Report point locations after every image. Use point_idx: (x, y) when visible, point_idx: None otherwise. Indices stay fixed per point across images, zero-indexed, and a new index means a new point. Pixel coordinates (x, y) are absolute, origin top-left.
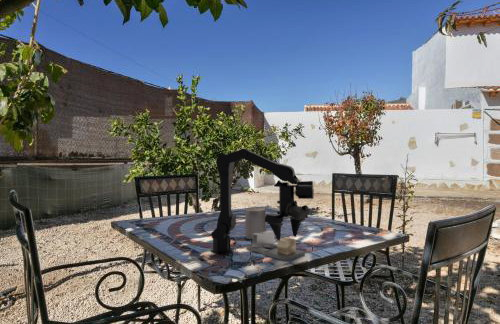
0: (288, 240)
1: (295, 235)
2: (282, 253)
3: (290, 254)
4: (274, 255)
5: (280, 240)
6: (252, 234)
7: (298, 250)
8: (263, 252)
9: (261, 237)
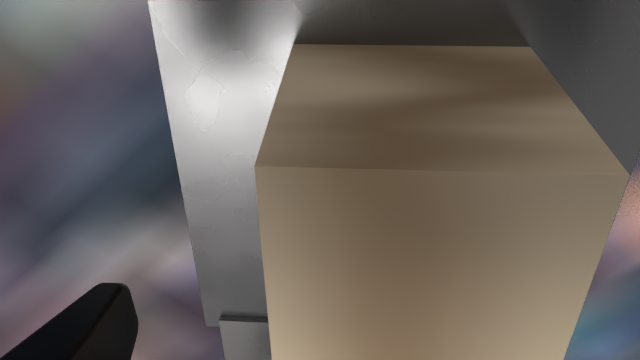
0: (488, 216)
1: (116, 303)
2: None
3: (476, 12)
4: None
5: (565, 335)
6: None
7: (176, 81)
8: None
9: None
